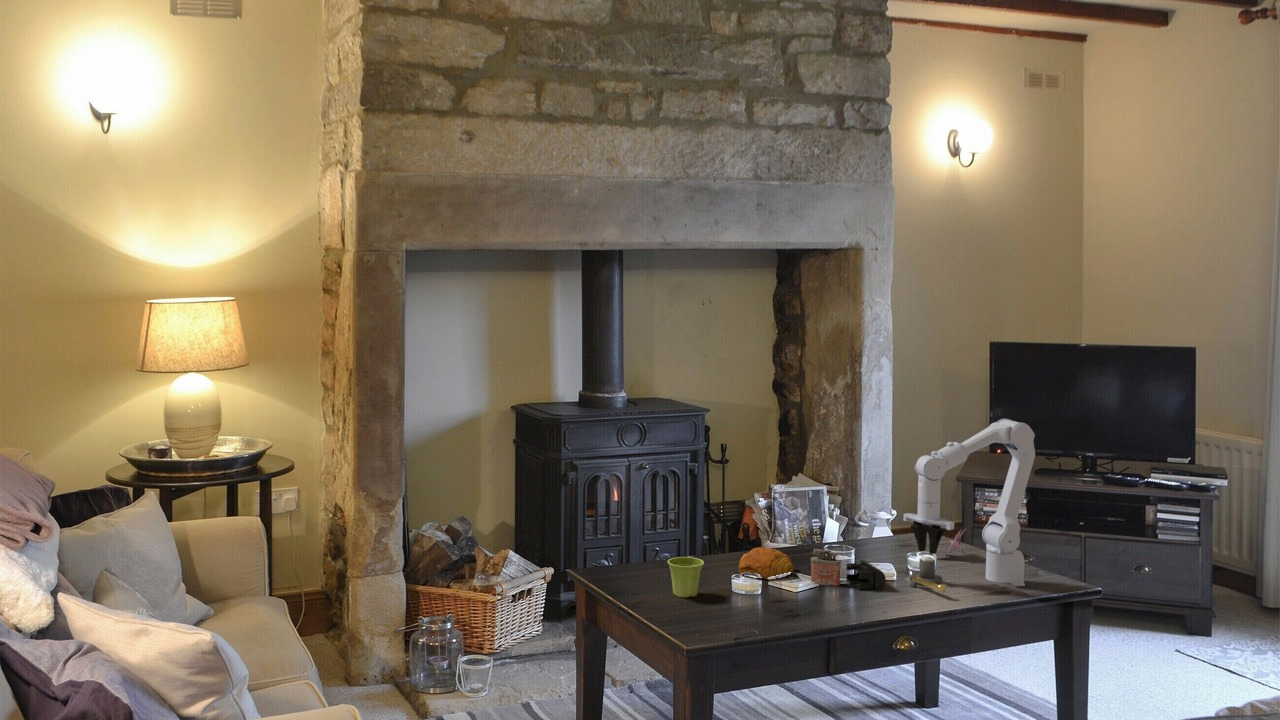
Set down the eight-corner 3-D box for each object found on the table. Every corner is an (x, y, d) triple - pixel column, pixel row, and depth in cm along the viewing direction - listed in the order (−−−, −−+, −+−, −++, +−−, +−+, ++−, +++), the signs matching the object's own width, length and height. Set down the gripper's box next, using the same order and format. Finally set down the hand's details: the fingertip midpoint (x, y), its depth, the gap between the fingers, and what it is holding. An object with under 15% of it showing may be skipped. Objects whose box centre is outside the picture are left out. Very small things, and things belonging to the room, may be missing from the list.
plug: (935, 578, 303) (936, 554, 302) (946, 586, 295) (947, 561, 294) (907, 578, 302) (907, 554, 301) (917, 586, 294) (918, 562, 293)
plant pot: (707, 591, 293) (708, 558, 292) (697, 601, 284) (698, 567, 283) (673, 588, 296) (673, 555, 295) (662, 597, 287) (662, 564, 286)
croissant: (759, 571, 321) (757, 543, 321) (802, 574, 310) (800, 545, 310) (725, 579, 311) (723, 550, 311) (769, 583, 300) (767, 553, 300)
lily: (962, 556, 336) (946, 527, 337) (990, 548, 327) (974, 519, 327) (938, 574, 329) (922, 545, 330) (966, 567, 320) (950, 537, 321)
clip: (946, 598, 283) (947, 583, 283) (940, 599, 283) (941, 583, 282) (913, 585, 295) (914, 570, 295) (908, 585, 295) (908, 570, 294)
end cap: (885, 594, 291) (886, 568, 291) (860, 595, 290) (860, 570, 289) (870, 584, 301) (871, 559, 301) (845, 585, 300) (846, 560, 299)
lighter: (841, 587, 297) (842, 550, 297) (838, 590, 294) (839, 553, 294) (812, 583, 301) (813, 546, 300) (808, 586, 298) (809, 549, 297)
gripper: (897, 499, 299) (895, 549, 300) (943, 507, 288) (942, 559, 290) (912, 495, 304) (911, 545, 305) (959, 504, 293) (957, 555, 294)
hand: (927, 552), depth 298 cm, fingers open, 3 cm apart
